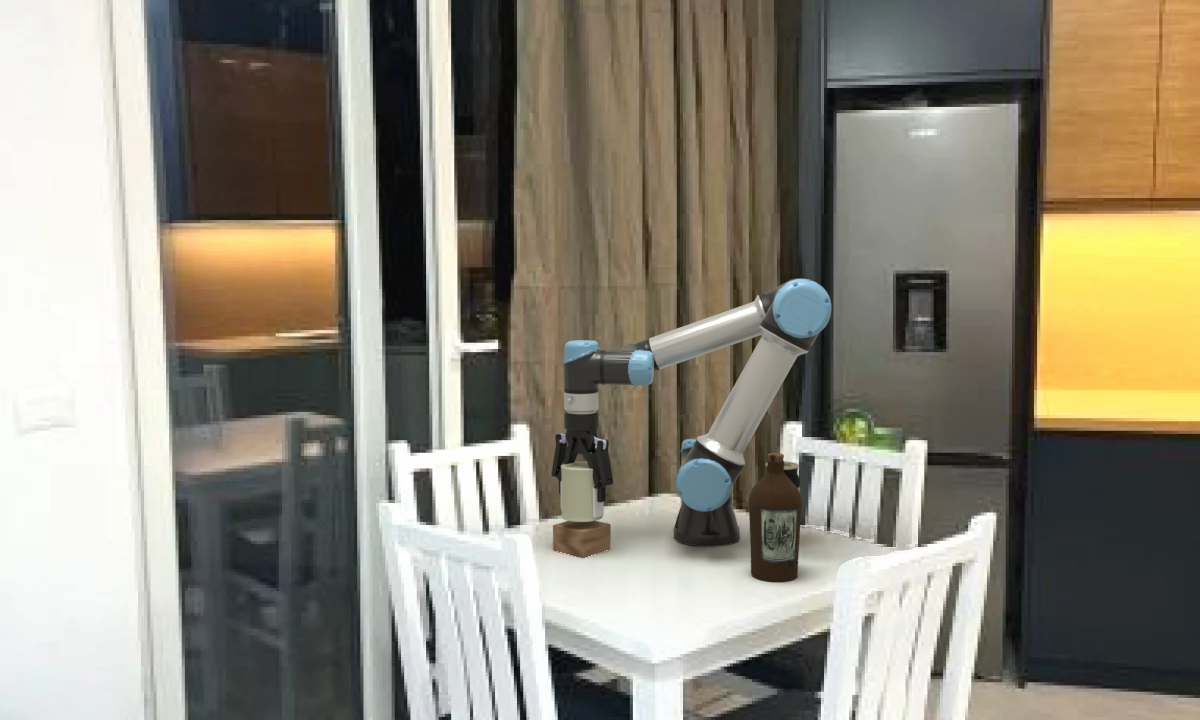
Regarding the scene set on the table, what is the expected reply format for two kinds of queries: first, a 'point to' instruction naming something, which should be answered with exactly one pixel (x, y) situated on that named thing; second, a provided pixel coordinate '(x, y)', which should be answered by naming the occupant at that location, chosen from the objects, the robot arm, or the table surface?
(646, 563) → the table surface
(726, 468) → the robot arm
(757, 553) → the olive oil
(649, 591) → the table surface
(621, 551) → the table surface
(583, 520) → the can
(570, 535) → the walnut block
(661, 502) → the table surface
